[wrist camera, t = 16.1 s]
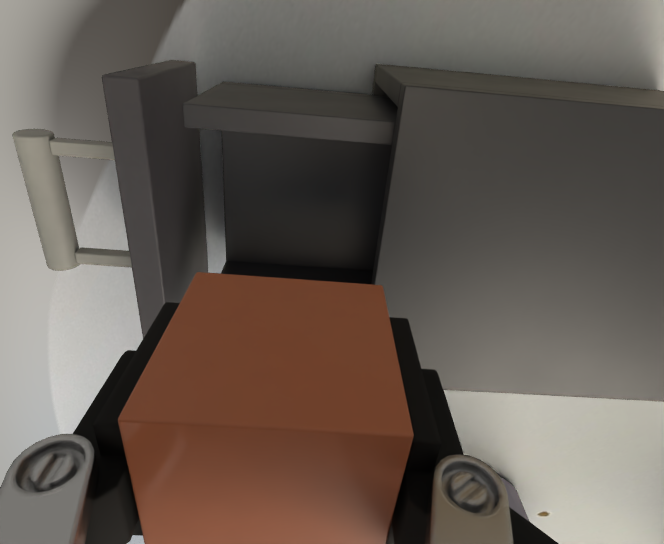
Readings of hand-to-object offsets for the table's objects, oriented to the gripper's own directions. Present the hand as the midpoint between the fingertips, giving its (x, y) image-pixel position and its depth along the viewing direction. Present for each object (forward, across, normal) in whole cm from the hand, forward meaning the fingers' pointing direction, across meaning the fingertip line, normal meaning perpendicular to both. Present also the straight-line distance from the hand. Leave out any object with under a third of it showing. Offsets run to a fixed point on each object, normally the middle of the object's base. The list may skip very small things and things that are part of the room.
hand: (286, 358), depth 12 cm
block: (0, 0, 0) cm, 0 cm away
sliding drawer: (+14, +2, 0) cm, 14 cm away
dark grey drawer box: (+15, -10, 0) cm, 18 cm away
